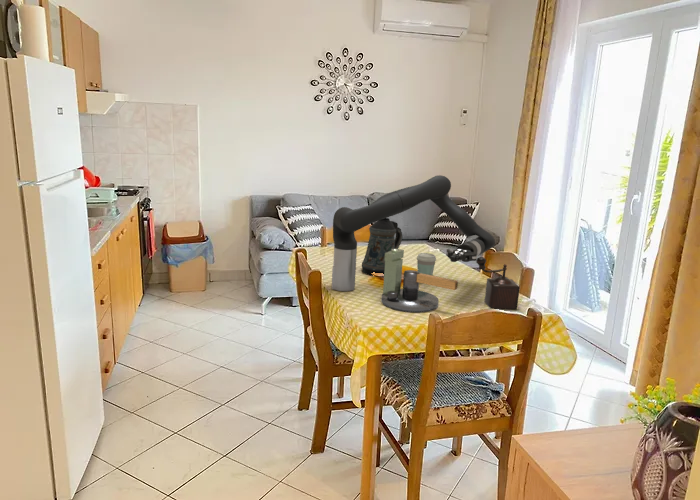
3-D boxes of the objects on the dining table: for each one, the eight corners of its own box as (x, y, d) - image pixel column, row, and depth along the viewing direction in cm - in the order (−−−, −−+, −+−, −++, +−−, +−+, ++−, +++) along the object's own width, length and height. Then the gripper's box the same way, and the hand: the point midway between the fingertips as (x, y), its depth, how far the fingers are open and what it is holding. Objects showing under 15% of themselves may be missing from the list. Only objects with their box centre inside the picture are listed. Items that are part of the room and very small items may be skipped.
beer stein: (355, 273, 243) (358, 219, 237) (371, 264, 260) (374, 213, 254) (389, 279, 236) (393, 223, 230) (403, 269, 253) (407, 217, 248)
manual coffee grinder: (509, 300, 215) (514, 257, 211) (517, 310, 204) (523, 264, 200) (470, 299, 215) (475, 255, 210) (477, 308, 204) (482, 262, 200)
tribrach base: (370, 303, 203) (373, 253, 198) (397, 290, 221) (400, 243, 216) (423, 317, 192) (428, 263, 187) (447, 301, 210) (451, 252, 205)
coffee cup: (433, 285, 231) (436, 258, 228) (414, 283, 232) (416, 256, 230) (434, 279, 239) (437, 253, 236) (415, 277, 241) (417, 251, 238)
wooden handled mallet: (399, 297, 205) (401, 272, 202) (406, 293, 210) (408, 269, 207) (450, 309, 194) (453, 283, 192) (456, 305, 199) (459, 279, 197)
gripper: (454, 239, 218) (437, 246, 204) (485, 244, 211) (470, 252, 197) (452, 257, 220) (435, 265, 206) (484, 262, 213) (468, 272, 199)
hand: (452, 259), depth 201 cm, fingers closed
